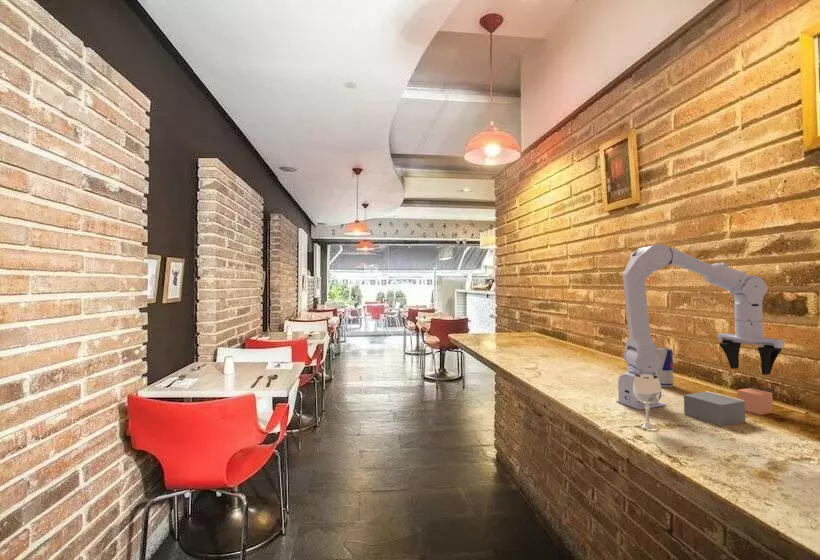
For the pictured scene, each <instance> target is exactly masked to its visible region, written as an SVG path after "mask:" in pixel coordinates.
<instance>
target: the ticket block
mask: <svg viewBox="0 0 820 560" xmlns="http://www.w3.org/2000/svg"><path fill="white" fill-rule="evenodd" d="M683 405H684V406H683V408H684V409H683V410H684V412H683V413H684V415H686V416H688V417H690V418H695V419H697V420H701V421H704V422H706V423H710V424H713V425H716V426H719V427H726V426H729V425H731V426H732V425H736V424H741V423H746V411H745V401H744V400H740V399H737V397H733V396H727V395H724V394H720V393H716V392H712V391H708V390H704V391H702V392H695V393H688V394H683Z"/></svg>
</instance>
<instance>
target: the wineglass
mask: <svg viewBox="0 0 820 560" xmlns="http://www.w3.org/2000/svg"><path fill="white" fill-rule="evenodd" d="M633 394H634V396H635V398H636V399H637V400H639V401H640V402H642V403H645V404H646V405H645V409H644V410H645V413H646V421H645V423H640V424H641V426H642V427H644V428H647V429H658V428H659V427H658V426H656V425H654V424H651V422H650V417H649V416H650V410H651V408H650V406H649V404H653V403H656V402H660V400H661V398H662V387H661V385H660V381H659V378H658V377H657V376H655V375H649V374H637V375H635V379H634V383H633ZM653 425H654V426H653ZM657 427H658V428H657Z"/></svg>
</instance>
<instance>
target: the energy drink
mask: <svg viewBox="0 0 820 560" xmlns="http://www.w3.org/2000/svg"><path fill="white" fill-rule="evenodd" d="M656 351H657V354H658V355H659V356H660V358H661V366H660V368H659V370H658V371H657V377H658V378H659V381H660V385H661V388H668V389H669V388H673V387H674V359H673V358H674V357H673V353H674V351H673V350H672V348H669V347H663V346H662V347H660V346H659V347H658V346H657V347H656Z"/></svg>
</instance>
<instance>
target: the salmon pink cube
mask: <svg viewBox="0 0 820 560" xmlns="http://www.w3.org/2000/svg"><path fill="white" fill-rule="evenodd" d="M736 392H737V394H736V395H737V396H736V399H740V400H744V401H745V412H748V413H751V414H755V415H759V416H761V415H762V416H763V415H767V414H773V413H774V407H773V406H774V405H773V404H774V403H773V402H774V400H773V397H774V396H773V392H769V391H766V390H761V389H756V388H752V387H749V388H742V389H737V390H736Z"/></svg>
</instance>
